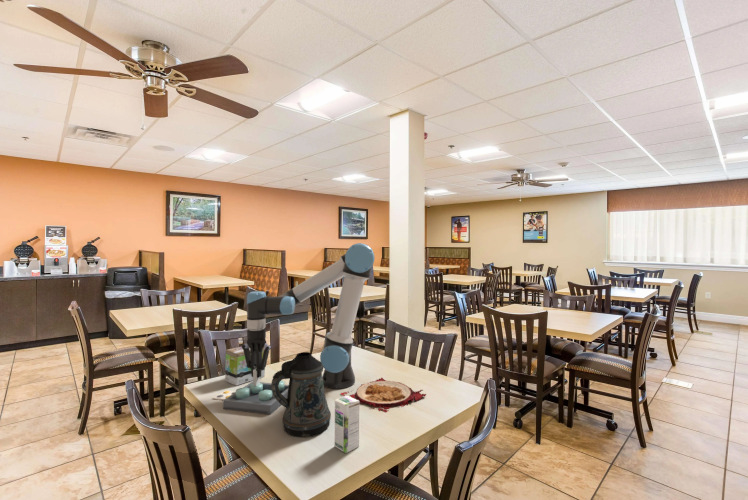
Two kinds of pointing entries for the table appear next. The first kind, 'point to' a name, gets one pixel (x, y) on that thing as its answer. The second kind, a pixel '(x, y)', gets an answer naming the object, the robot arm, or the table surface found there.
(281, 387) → the button
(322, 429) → the beer stein
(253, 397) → the button board
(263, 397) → the button
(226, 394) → the card
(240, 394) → the button
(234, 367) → the tea box
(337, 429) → the syrup box
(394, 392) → the plate with food
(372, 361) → the table surface
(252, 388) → the button
